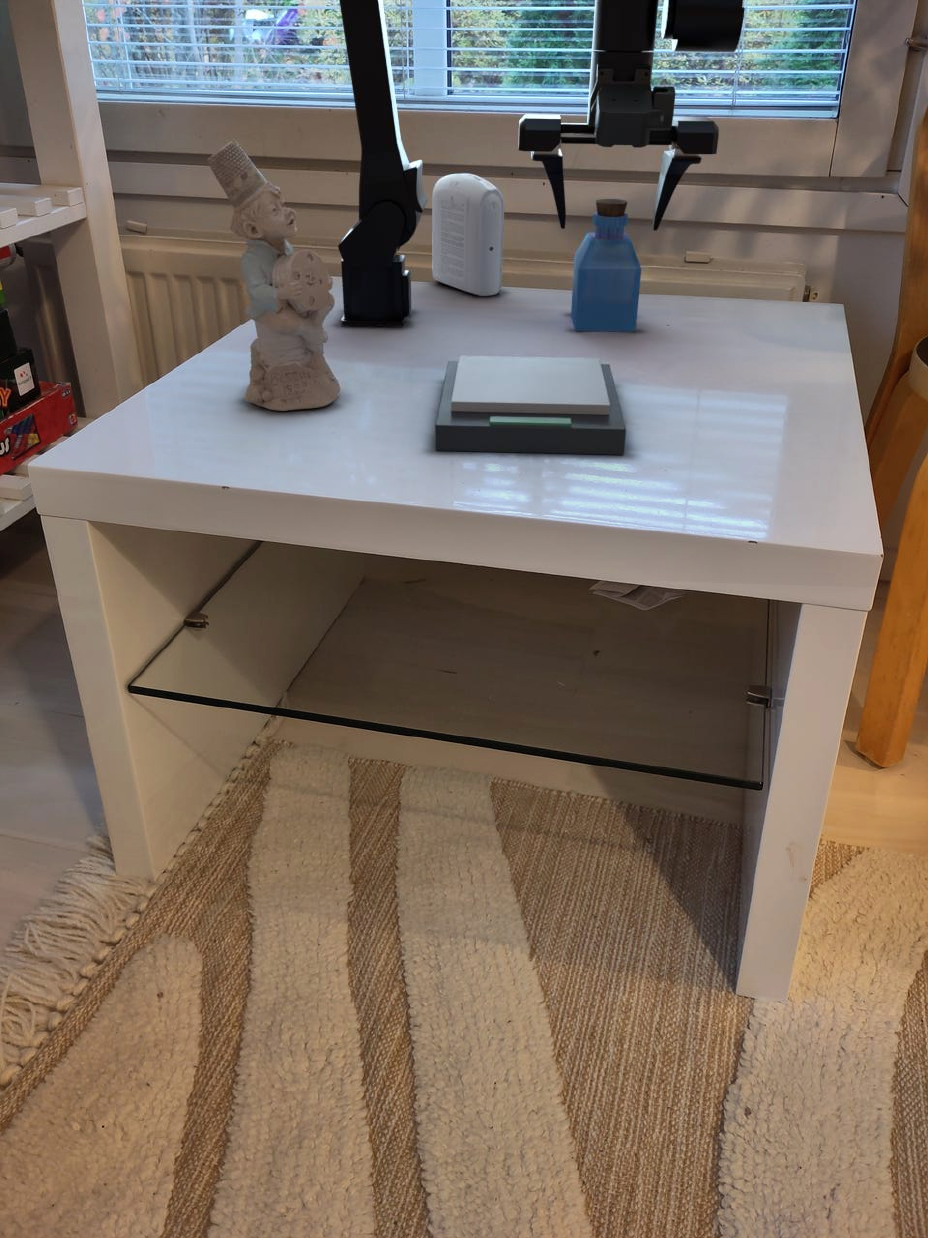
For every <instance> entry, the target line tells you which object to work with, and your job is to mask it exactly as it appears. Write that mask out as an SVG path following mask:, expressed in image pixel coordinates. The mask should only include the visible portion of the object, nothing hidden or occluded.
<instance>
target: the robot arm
mask: <svg viewBox="0 0 928 1238" xmlns="http://www.w3.org/2000/svg"><path fill="white" fill-rule="evenodd" d="M338 2H339V8H340V14H341V15H340V16H341V21H342V28H343V35H344V41H345V48H346V54H347V60H348V67H349V74H350V75H349V76H350V81H351V88H352V94H353V99H354V100H353V102H354V109H355V115H356V121H357V127H358V134H359V141H360V148H361V150H360V151H361V153H360V166H359V167H360V168H359V182H358V221H357V222H356V223H355V224H354V225H353V226H352V227H351V228H350V229H349V230H348V232H347V233H346V235H345V236H344V237H343V238H342V239H341V241H340V242H339V243H338V246H337V248H338V251H339V253H340V256H341V260H340V265H341V266H340V267H341V285H342V299H343V300H342V301H343V302H342V304H343V315H342V317H341V319H340V322H341V323H340V325H343V326H382V327H383V326H386V327H391V326H392V327H400V326H404V324H405V322H406V319H407V317H409V316H410V315H411V312H412V274H411V271H410V270H407V269H406V256H405V255H404V254H397V253H398V252H399V251H400V249H401V247H402V246H404V245H405V244H407V243H408V242H409V241H410V240H411V239H412V237H413V236H414V234H415V232H416V230H417V228H418V226H419V224H420V222H421V219H422V216H423V212H424V210H425V208H426V206H427V204H428V201H429V199H428V197H427V196H426V194H425V191H424V187H423V160H422V159H418V160H415V161H412V162H410V161H409V158H408V156H407V153H406V151H405V147H404V144H403V141H402V138H401V130H400V124H399V123H400V121H399V115H398V107H397V106H398V105H397V99H396V91H395V84H394V77H393V75H394V74H393V68H392V62H391V54H390V53H391V52H390V45H389V39H388V38H389V37H388V30H387V22H386V15H385V8H384V0H338ZM659 2H660V0H594V11H593V13H594V14H593V28H592V42H591V43H592V45H591V60H590V71H589V72H590V74H589V86H588V87H589V89H588V102H587V103H588V104H587V119H586V122H583V123H581V122H580V123H579V122H562V118H561V115H560V114H540V113H539V114H537V113H536V114H535V113H533V114H532V113H526V114H524V115H523V116H521V118H520V119H519V121H518V122H519V123H518V152H531V153H530V155H531V161H533V162H540V163H542V165H543V167H544V170H545V173H546V175H547V178H548V181H549V184H550V187H551V191H552V194H553V199H554V203H555V204H554V205H555V208H556V213H557V218H558V222H559V226H560V229H561V230H565V229H566V218H567V208H566V194H565V193H566V192H565V178H564V176H565V175H564V159H563V158H564V157H563V153H562V149H561V148H562V145H563V144H565V145H567V144H569V145H597V146H599V147H603V148H612V147H614V146H631V147H633V148H635V149H636V148H637V149H638V148H639V149H640V148H645V147H647V146H668V148H669V149H668V150H664V151H663V155H662V161H661V167H660V173H659V178H658V183H657V187H656V188H657V189H656V193H655V200H654V205H653V211H652V227H651V229H652V231H654V232H655V231H656V232H657V231H658V229H659V228H660V225H661V222H662V220H663V218H664V215H665V213H666V211H667V208H668V205H669V203H670V201H671V198H672V196H673V194H674V192H675V190H676V188H677V186H678V185H679V183H680V181H681V179H682V177H683V176H684V174H685V173H686V171H687V170H688V169H689V168H690V166H692V165H700V164H701V163H702V160H703V159H702V157H701V156H700V155H717V153H718V145H719V138H720V137H719V136H720V129H719V126H718V125H717V123H716V122H715V121H714V120H713V119H711V118H709V117H707V116H674V113H675V102H676V88H675V86H669V85H668V86H665V85H664V86H662V85H661V86H659V85H658V86H657V85H655V86H654V87H653V88H652V76H653V68H654V67H653V66H654V54H655V52H654V51H655V44H656V32H657V22H658V12H659ZM745 10H746V7H744V0H664V1H663V7H662V15H661V39H662V40H669V39H671V49H672V53H673V52H675V53H676V52H677V53H680V52H681V53H735V52H736V50H737V49H738V45H739V43H740V40H741V36H742V30H743V25H744V20H745V19H744V18H745Z"/></svg>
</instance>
